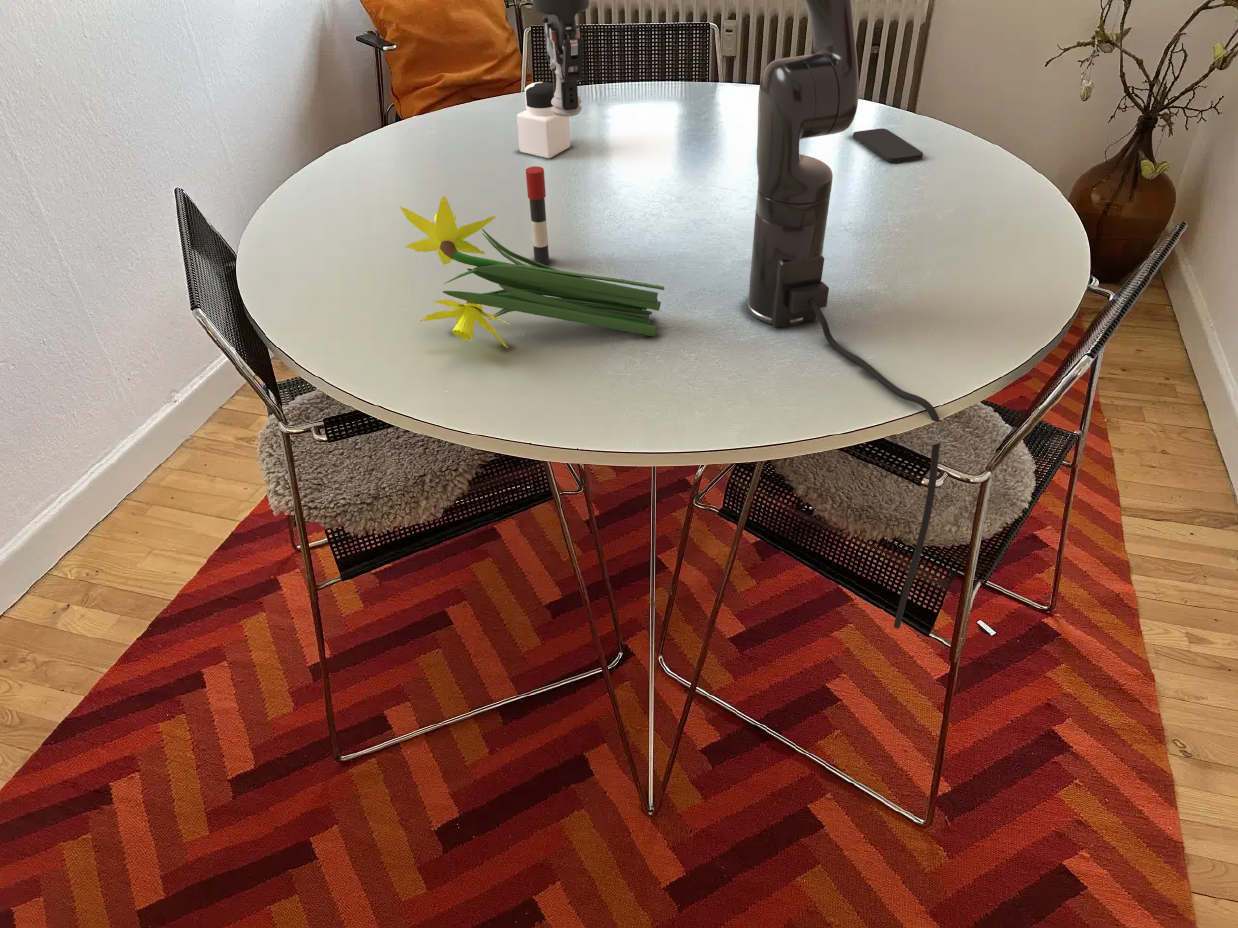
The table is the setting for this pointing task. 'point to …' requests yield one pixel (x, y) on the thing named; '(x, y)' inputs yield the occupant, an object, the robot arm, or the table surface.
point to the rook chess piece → (557, 100)
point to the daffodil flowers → (529, 284)
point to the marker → (538, 213)
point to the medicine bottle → (542, 123)
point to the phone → (887, 145)
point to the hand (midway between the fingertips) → (565, 102)
